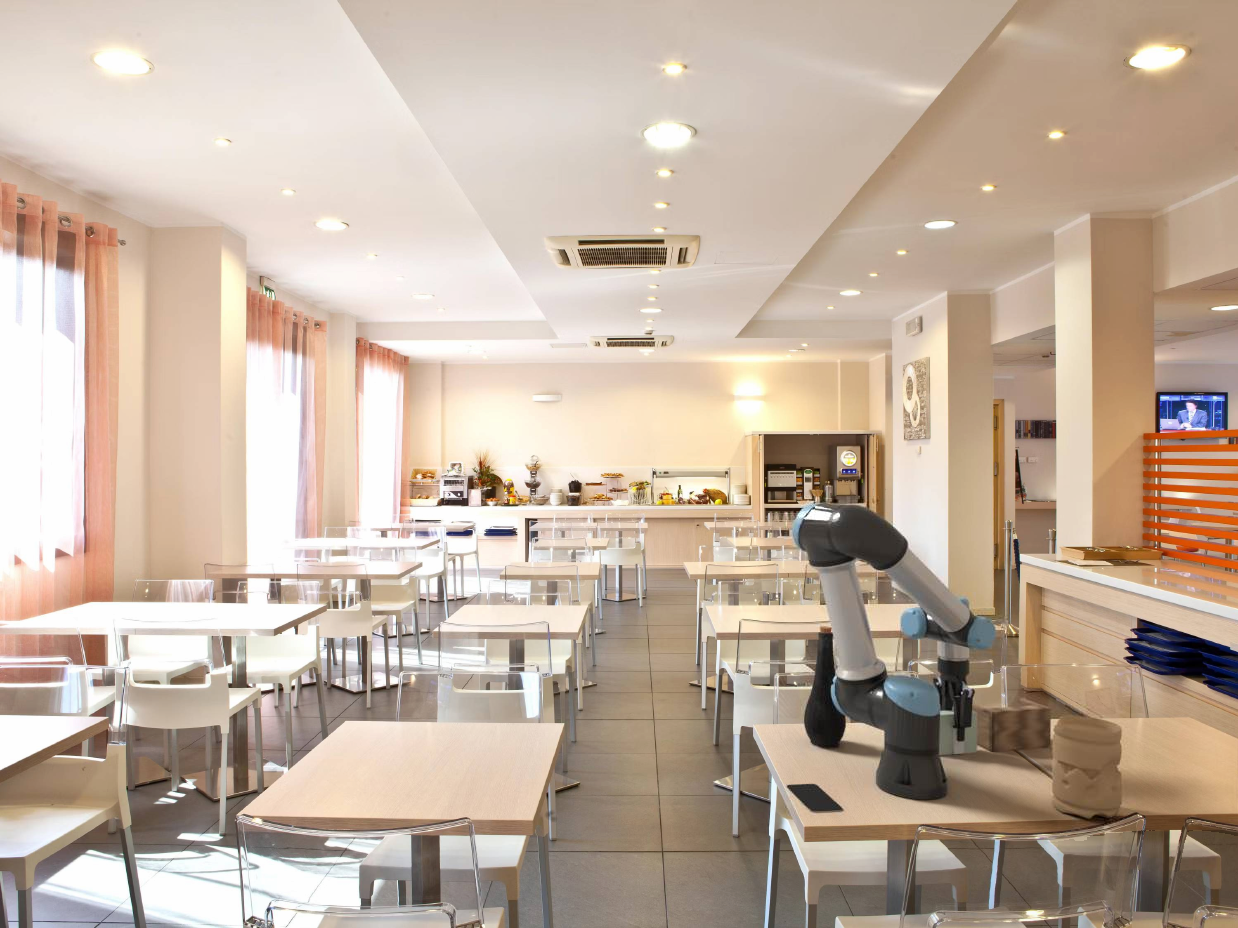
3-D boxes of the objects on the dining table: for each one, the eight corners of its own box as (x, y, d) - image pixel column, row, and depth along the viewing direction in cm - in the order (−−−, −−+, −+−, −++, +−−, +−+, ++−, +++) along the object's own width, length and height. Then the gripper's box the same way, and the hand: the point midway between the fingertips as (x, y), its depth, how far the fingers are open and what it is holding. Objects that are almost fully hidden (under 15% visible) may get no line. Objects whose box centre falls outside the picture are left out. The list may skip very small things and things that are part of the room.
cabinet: (991, 751, 208) (991, 711, 209) (952, 733, 223) (952, 696, 224) (1050, 746, 213) (1050, 707, 213) (1007, 729, 228) (1008, 692, 228)
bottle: (850, 741, 215) (851, 626, 215) (838, 752, 206) (839, 632, 206) (811, 734, 220) (812, 622, 221) (797, 744, 212) (799, 627, 212)
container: (1056, 816, 168) (1057, 728, 168) (1048, 795, 179) (1048, 712, 180) (1127, 826, 163) (1128, 735, 164) (1114, 803, 175) (1114, 719, 175)
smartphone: (815, 783, 184) (844, 809, 169) (815, 786, 184) (844, 812, 169) (784, 784, 183) (811, 810, 168) (784, 787, 183) (810, 814, 168)
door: (935, 755, 205) (936, 715, 205) (927, 751, 208) (928, 711, 208) (976, 752, 208) (977, 712, 208) (968, 748, 211) (968, 708, 211)
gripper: (988, 663, 201) (987, 760, 201) (945, 650, 217) (945, 739, 217) (961, 665, 200) (961, 762, 199) (920, 651, 215) (920, 741, 215)
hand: (953, 750), depth 208 cm, fingers closed on door, 3 cm apart
